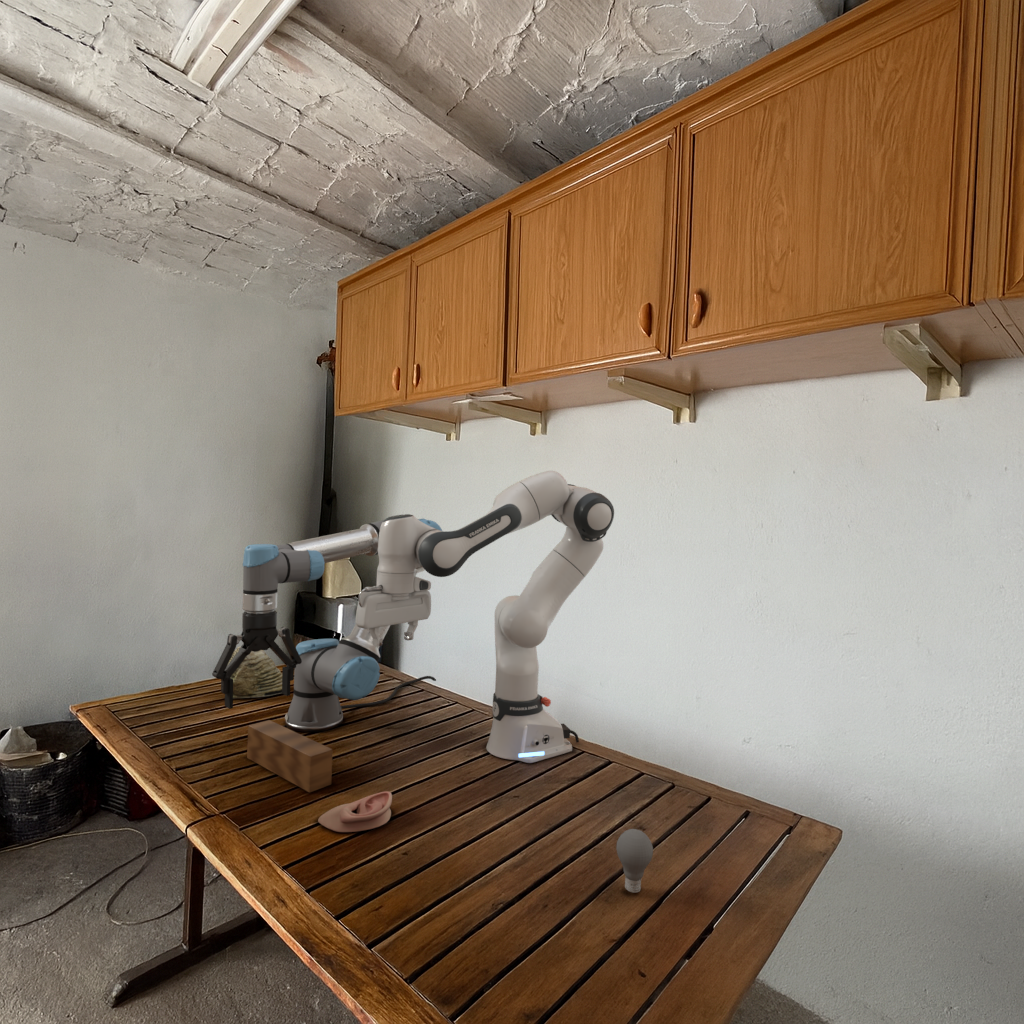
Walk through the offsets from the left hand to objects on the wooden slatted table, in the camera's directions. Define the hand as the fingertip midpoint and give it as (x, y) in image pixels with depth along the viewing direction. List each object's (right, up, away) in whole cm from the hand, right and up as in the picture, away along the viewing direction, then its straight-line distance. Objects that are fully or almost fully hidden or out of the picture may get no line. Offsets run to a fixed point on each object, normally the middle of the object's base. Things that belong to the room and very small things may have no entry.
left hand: (258, 700), depth 149 cm
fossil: (-21, -13, +49) cm, 55 cm away
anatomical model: (+29, -17, -23) cm, 40 cm away
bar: (+8, -15, -3) cm, 17 cm away
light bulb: (+80, -19, -43) cm, 92 cm away
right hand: (+32, +14, -1) cm, 35 cm away
